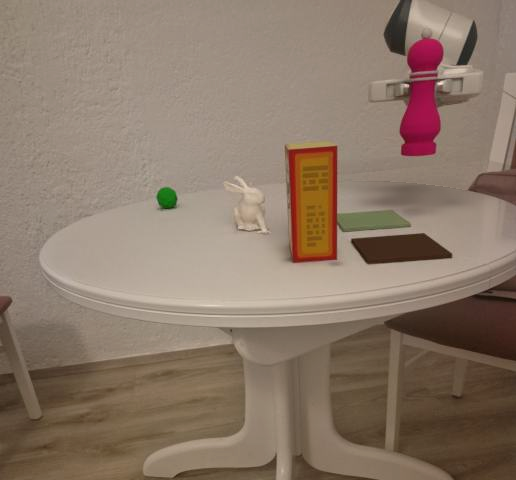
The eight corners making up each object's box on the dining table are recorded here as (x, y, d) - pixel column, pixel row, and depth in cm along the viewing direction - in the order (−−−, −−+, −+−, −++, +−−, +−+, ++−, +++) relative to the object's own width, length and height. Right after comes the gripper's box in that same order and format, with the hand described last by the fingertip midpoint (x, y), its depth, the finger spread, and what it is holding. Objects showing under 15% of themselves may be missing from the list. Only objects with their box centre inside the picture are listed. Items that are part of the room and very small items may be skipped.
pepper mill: (443, 151, 91) (455, 25, 82) (431, 156, 86) (442, 23, 77) (405, 151, 95) (413, 31, 86) (392, 156, 90) (398, 29, 81)
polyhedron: (171, 210, 114) (167, 189, 111) (154, 210, 116) (150, 189, 114) (182, 206, 118) (180, 185, 115) (166, 205, 120) (163, 185, 117)
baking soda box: (289, 245, 80) (284, 141, 73) (328, 242, 80) (327, 138, 72) (293, 262, 71) (288, 146, 64) (337, 259, 71) (337, 143, 64)
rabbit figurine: (270, 234, 87) (267, 178, 83) (228, 238, 87) (223, 182, 83) (263, 220, 98) (260, 170, 94) (227, 223, 98) (222, 173, 93)
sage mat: (392, 212, 96) (392, 209, 96) (410, 226, 85) (410, 223, 85) (332, 217, 96) (332, 214, 96) (343, 231, 85) (343, 228, 85)
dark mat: (423, 236, 79) (424, 232, 79) (452, 257, 68) (452, 253, 68) (351, 242, 79) (351, 238, 79) (367, 264, 68) (368, 260, 68)
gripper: (371, 74, 98) (363, 73, 86) (481, 64, 92) (488, 61, 80) (370, 108, 101) (362, 112, 89) (476, 101, 94) (482, 103, 83)
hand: (423, 87), depth 84 cm, fingers closed on pepper mill, 5 cm apart
